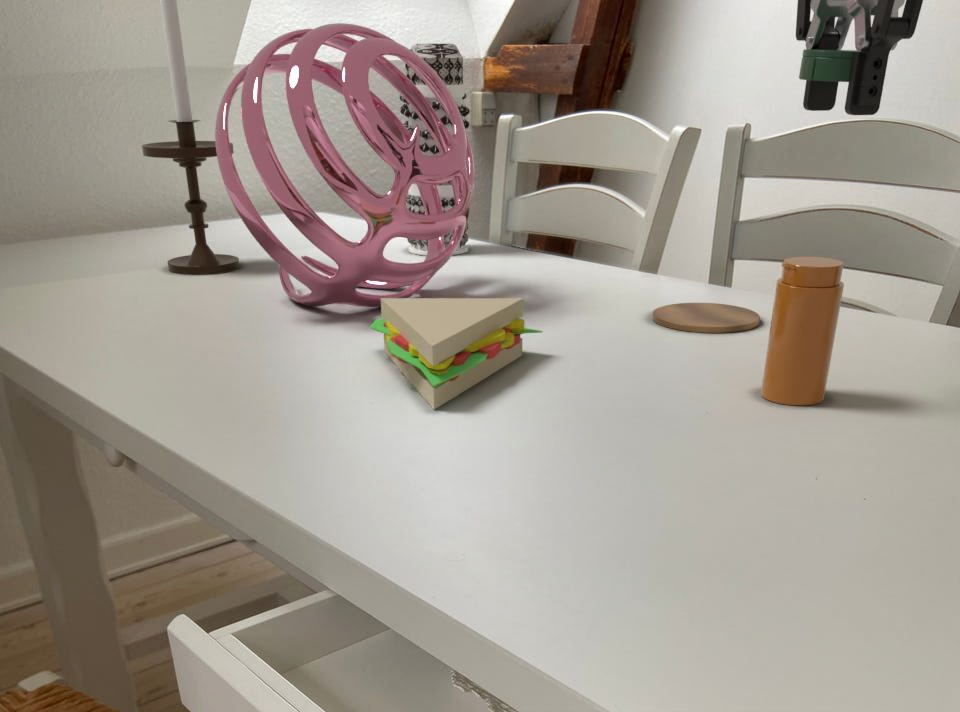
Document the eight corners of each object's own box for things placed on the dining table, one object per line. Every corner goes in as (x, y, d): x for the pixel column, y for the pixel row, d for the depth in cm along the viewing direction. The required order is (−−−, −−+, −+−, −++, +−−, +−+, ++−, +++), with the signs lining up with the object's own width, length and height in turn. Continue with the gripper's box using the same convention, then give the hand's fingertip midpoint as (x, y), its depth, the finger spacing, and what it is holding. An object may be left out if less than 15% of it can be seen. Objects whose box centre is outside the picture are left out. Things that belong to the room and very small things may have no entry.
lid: (841, 82, 67) (847, 51, 66) (780, 78, 71) (785, 49, 70) (899, 82, 69) (906, 52, 68) (837, 78, 74) (842, 49, 73)
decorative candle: (399, 246, 144) (391, 43, 131) (462, 243, 146) (460, 43, 133) (411, 257, 136) (403, 43, 123) (477, 254, 138) (476, 43, 125)
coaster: (709, 303, 111) (709, 298, 111) (781, 324, 103) (782, 318, 103) (631, 316, 107) (631, 310, 106) (700, 338, 98) (701, 332, 98)
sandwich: (307, 400, 81) (302, 338, 79) (389, 341, 98) (386, 288, 95) (490, 416, 78) (490, 351, 75) (543, 352, 94) (545, 297, 91)
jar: (791, 384, 85) (812, 253, 80) (837, 399, 81) (862, 263, 76) (748, 393, 83) (766, 259, 77) (792, 409, 79) (815, 270, 74)
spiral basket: (143, 101, 110) (262, -84, 89) (352, 154, 128) (490, 10, 108) (196, 343, 107) (330, 209, 87) (401, 360, 126) (551, 253, 106)
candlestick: (143, 270, 129) (88, -61, 111) (204, 257, 137) (162, -54, 119) (204, 278, 124) (157, -66, 106) (264, 264, 132) (229, -58, 114)
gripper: (1013, -215, 57) (944, 117, 66) (880, -170, 69) (837, 106, 78) (893, -220, 56) (839, 119, 65) (779, -173, 68) (747, 108, 77)
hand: (838, 111), depth 71 cm, fingers closed on lid, 5 cm apart
